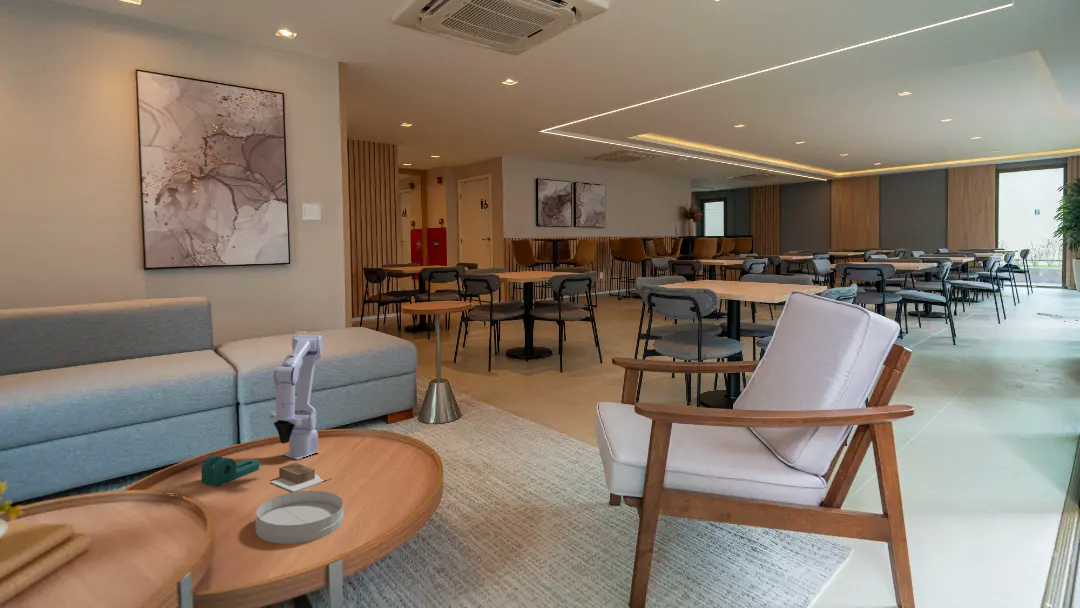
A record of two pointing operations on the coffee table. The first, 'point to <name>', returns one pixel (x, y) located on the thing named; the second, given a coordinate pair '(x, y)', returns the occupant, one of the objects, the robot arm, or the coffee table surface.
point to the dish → (299, 517)
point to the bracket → (225, 470)
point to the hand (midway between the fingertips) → (284, 442)
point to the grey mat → (296, 487)
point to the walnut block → (297, 473)
